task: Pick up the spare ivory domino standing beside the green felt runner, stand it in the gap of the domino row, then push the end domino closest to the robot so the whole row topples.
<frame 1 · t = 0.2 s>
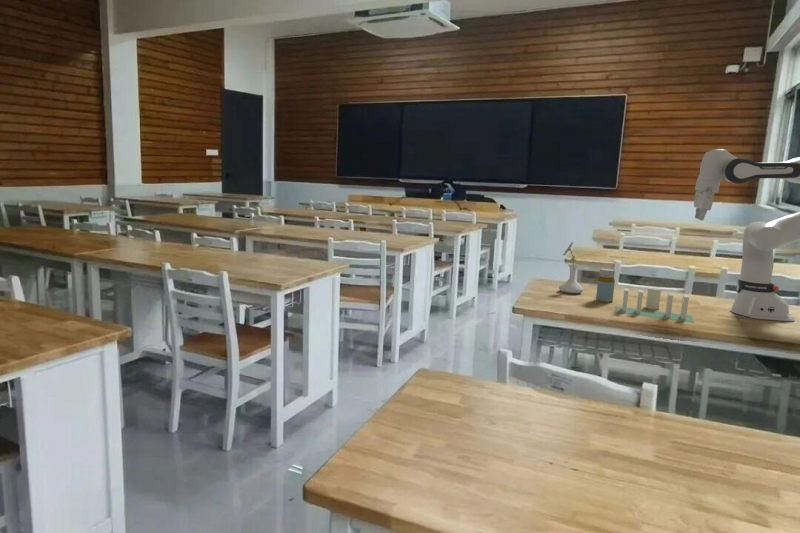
hand: (698, 219, 228), 39 cm above the table, tool pointing down, fingers open, 8 cm apart
domino 2: (667, 315, 215), point 1 cm above the table, touching felt runner
domino 1: (683, 317, 213), point 1 cm above the table, touching felt runner
domino end: (624, 310, 222), point 1 cm above the table, touching felt runner
felt runner: (652, 315, 218), on the table
domino 4: (638, 312, 220), point 1 cm above the table, touching felt runner
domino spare: (651, 309, 227), on the table
bottle: (603, 302, 238), on the table
flower in vase: (569, 293, 255), on the table
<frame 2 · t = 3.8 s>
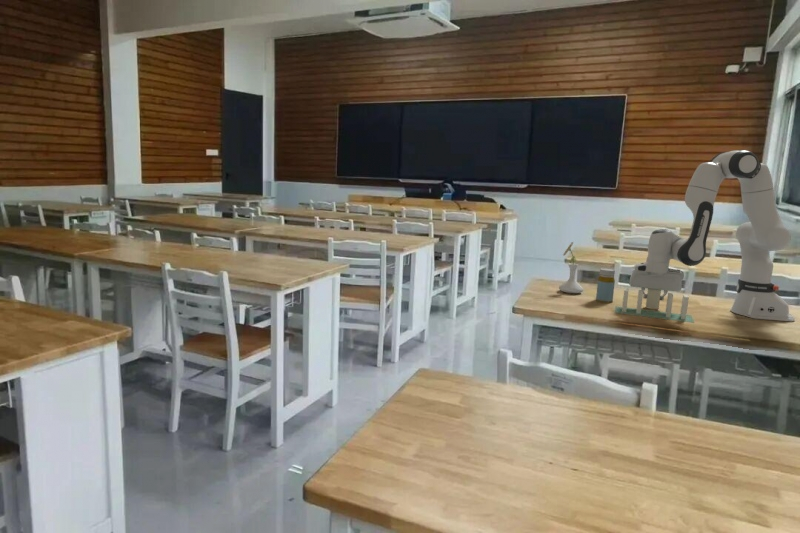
hand: (653, 299, 227), 5 cm above the table, tool pointing down, fingers closed on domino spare, 5 cm apart
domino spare: (651, 309, 227), on the table, touching gripper
everything else where it was.
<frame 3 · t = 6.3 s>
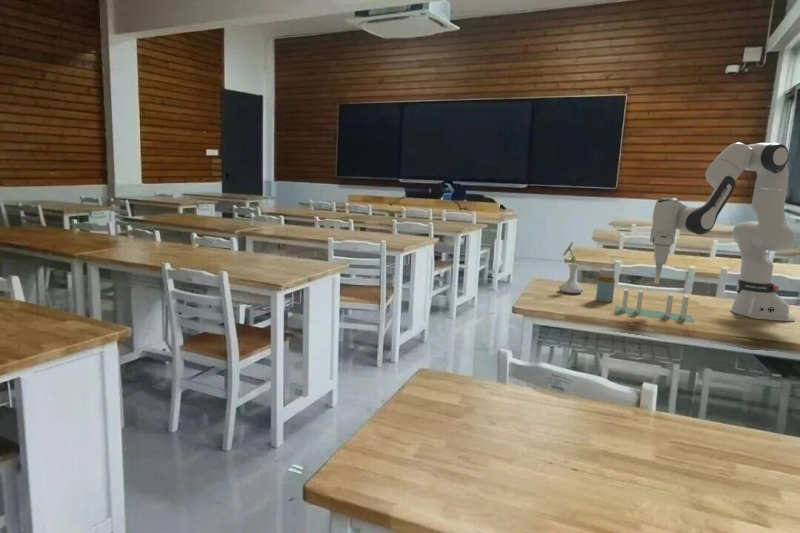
hand: (658, 272, 214), 18 cm above the table, tool pointing down, fingers closed on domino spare, 5 cm apart
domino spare: (656, 283, 215), point 14 cm above the table, touching gripper
everything else where it was.
when the fingers open (6 cm above the table, at t = 8.8 s): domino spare stays where it is, resting on felt runner.
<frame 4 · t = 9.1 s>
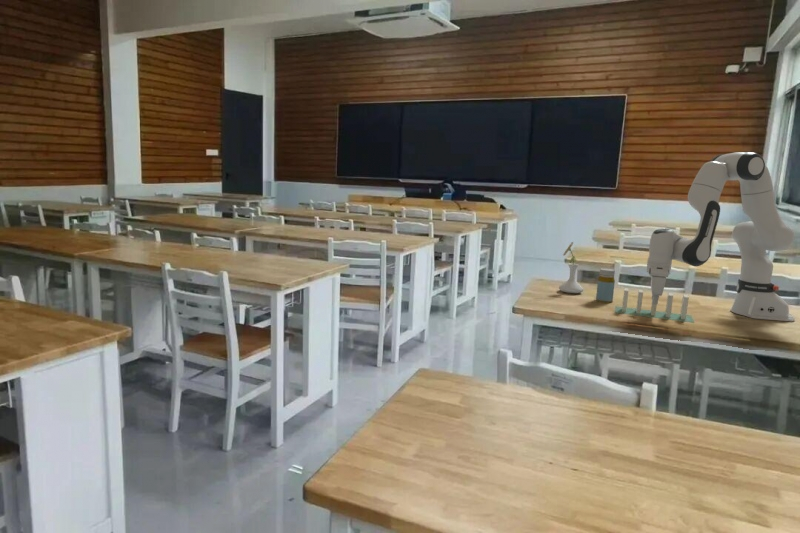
hand: (654, 301, 216), 6 cm above the table, tool pointing down, fingers open, 7 cm apart
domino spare: (653, 314, 217), point 1 cm above the table, touching felt runner
everything else where it was.
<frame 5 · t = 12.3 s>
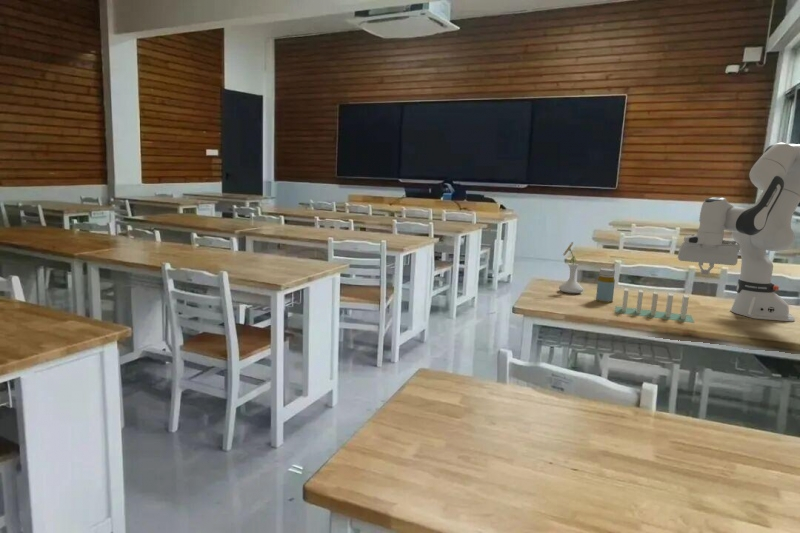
hand: (704, 274, 208), 19 cm above the table, tool pointing down, fingers closed
nothing on the table moved.
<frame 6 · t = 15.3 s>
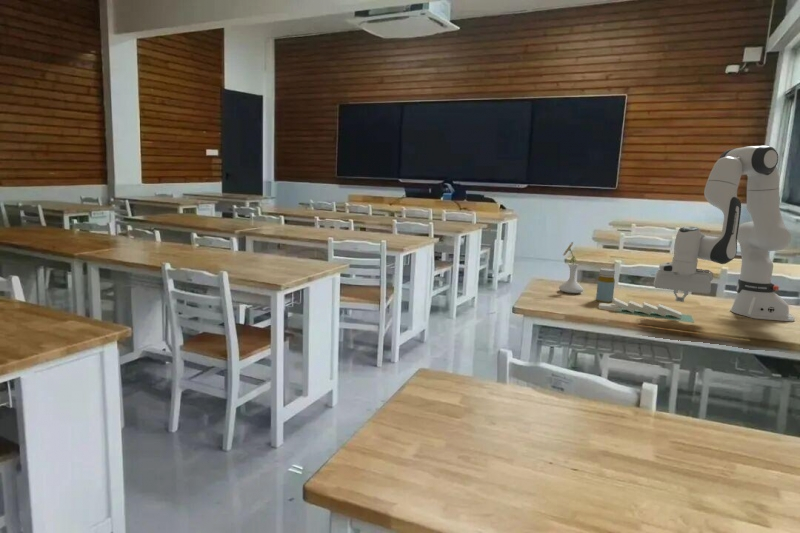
hand: (679, 301, 213), 7 cm above the table, tool pointing down, fingers closed
domino 2: (665, 313, 216), point 1 cm above the table, tilted 73°, touching domino 1, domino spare, felt runner
domino 1: (680, 315, 213), point 1 cm above the table, tilted 73°, touching domino 2, felt runner
domino end: (621, 308, 222), point 1 cm above the table, tilted 91°, touching domino 4, felt runner
domino 4: (634, 309, 220), point 1 cm above the table, tilted 70°, touching domino end, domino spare, felt runner
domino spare: (650, 311, 218), point 1 cm above the table, tilted 73°, touching domino 2, domino 4, felt runner
everything else where it was.
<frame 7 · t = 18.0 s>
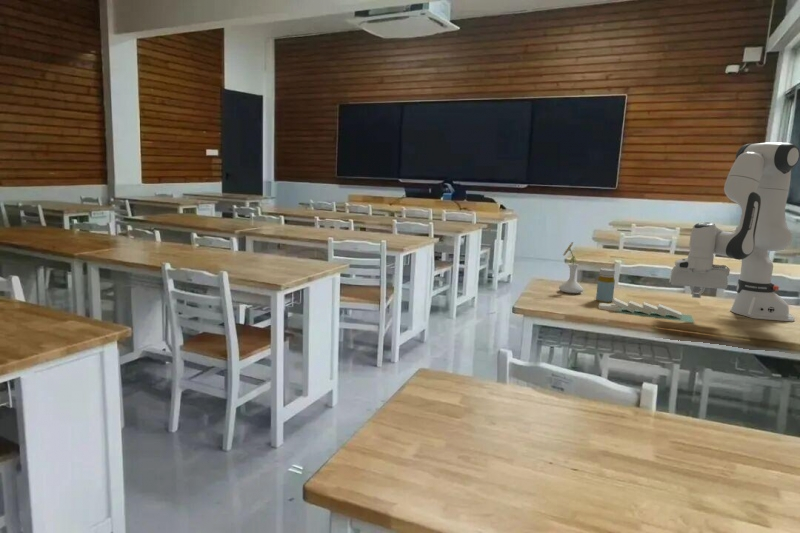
hand: (696, 297, 212), 9 cm above the table, tool pointing down, fingers closed
nothing on the table moved.
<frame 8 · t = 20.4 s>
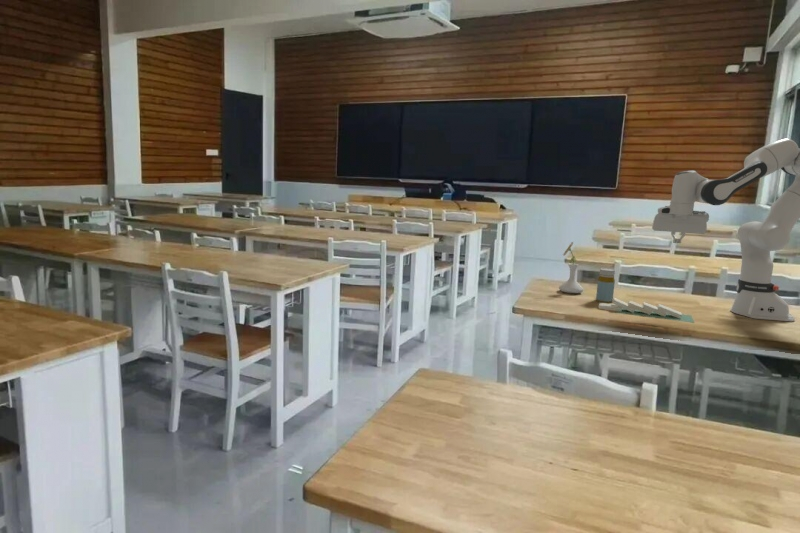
hand: (676, 243, 222), 29 cm above the table, tool pointing down, fingers closed
nothing on the table moved.
at the end: domino end tilted 91°; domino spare inside the target area (2.0 cm from its centre), point 1.4 cm above the table; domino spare tilted 73° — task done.
